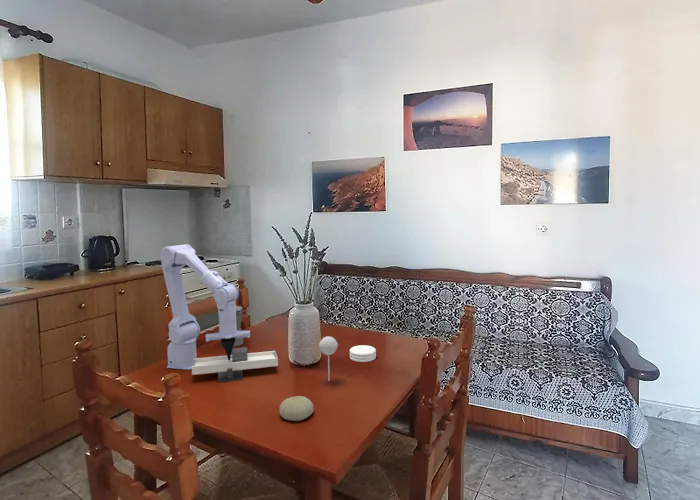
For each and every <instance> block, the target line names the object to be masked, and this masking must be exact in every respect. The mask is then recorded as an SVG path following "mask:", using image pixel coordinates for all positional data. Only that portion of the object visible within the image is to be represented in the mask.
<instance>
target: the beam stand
mask: <svg viewBox="0 0 700 500" xmlns="http://www.w3.org/2000/svg"><path fill="white" fill-rule="evenodd" d="M243 377H244V376H243V370H234V371H232V368H229V369H227V371H225V372H217V383H224V382H225V383H228V382H234V381H242V380H243V381H244V379H243Z"/></svg>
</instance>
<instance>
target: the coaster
mask: <svg viewBox="0 0 700 500" xmlns="http://www.w3.org/2000/svg"><path fill="white" fill-rule="evenodd" d="M376 358H377V349H376V348H375V347H373V346H371V345H364V344H362V345H361V344H360V345H355V346H352V347H351V348H350V349H349V359H350V360H352V361H354V362H358V363H368V362H372V361H374V360H376Z"/></svg>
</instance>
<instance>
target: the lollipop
mask: <svg viewBox="0 0 700 500" xmlns="http://www.w3.org/2000/svg"><path fill="white" fill-rule="evenodd" d="M338 346H339V344H338V342H337V340H336V339H335V338H334V337H333V336H329V335H327V336H324V337H322V339H321V340H320V342H319V344H318V348H319V350H320V352H321V353H322V354H324V355H326V356H327V375H328V378H327V380H328V381H327V382H330V381H331V380H330V379H331V377H330V372H331V371H330V368H331V367H330V355H333V354H335V352H336V351H337V349H338Z"/></svg>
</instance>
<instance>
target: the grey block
mask: <svg viewBox="0 0 700 500" xmlns="http://www.w3.org/2000/svg"><path fill="white" fill-rule="evenodd" d="M247 353H248V347H247V346H246V347H233V349H232V352H231V355H232V362H240V361H248V357H247Z"/></svg>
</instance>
